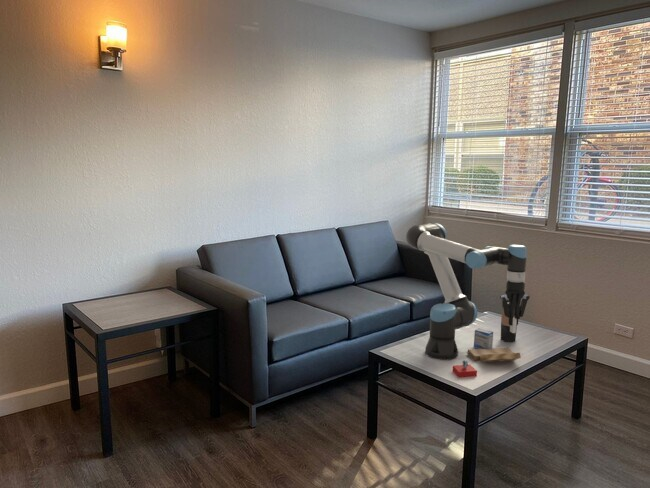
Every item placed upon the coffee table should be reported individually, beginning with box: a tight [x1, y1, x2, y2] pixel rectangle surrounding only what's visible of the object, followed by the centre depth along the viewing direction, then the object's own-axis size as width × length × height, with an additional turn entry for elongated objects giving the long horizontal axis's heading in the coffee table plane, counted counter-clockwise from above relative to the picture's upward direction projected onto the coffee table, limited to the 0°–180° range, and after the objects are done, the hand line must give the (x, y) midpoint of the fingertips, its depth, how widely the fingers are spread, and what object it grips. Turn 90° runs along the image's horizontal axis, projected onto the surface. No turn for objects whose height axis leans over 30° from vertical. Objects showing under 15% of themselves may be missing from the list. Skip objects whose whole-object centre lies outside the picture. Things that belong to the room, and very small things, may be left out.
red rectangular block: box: [452, 360, 478, 379], centre depth 220 cm, size 8×7×6 cm
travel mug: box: [500, 299, 518, 343], centre depth 259 cm, size 8×8×20 cm
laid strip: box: [467, 347, 515, 362], centre depth 239 cm, size 20×8×2 cm, turn 97°
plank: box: [479, 352, 522, 362], centre depth 231 cm, size 16×7×2 cm, turn 97°
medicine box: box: [473, 328, 494, 349], centre depth 250 cm, size 8×4×9 cm, turn 47°
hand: (512, 332), depth 227 cm, fingers closed
